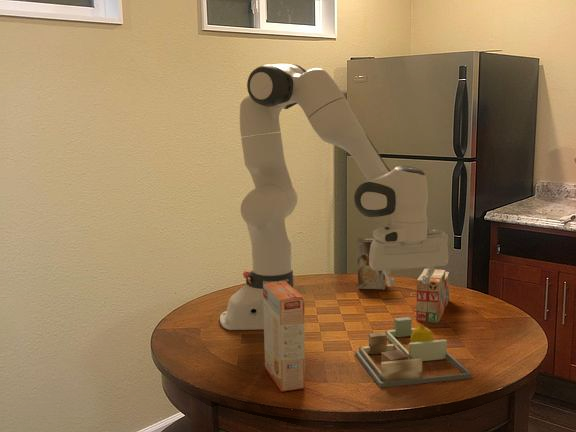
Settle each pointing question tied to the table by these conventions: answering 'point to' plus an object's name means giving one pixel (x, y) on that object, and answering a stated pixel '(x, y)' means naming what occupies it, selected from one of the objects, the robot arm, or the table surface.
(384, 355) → the walnut cube
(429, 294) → the stack of blocks
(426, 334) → the fruit
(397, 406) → the table surface
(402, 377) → the frame
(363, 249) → the coffee box
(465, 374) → the lane guides
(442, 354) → the frame
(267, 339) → the cracker box
